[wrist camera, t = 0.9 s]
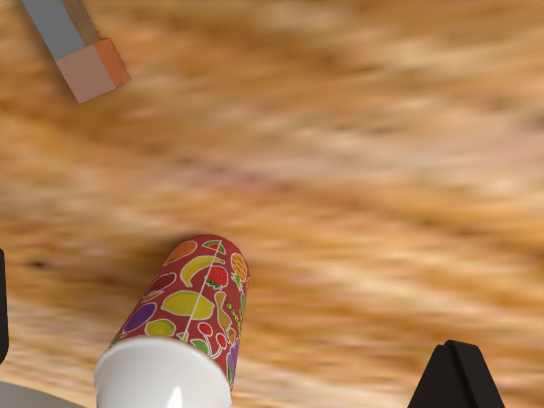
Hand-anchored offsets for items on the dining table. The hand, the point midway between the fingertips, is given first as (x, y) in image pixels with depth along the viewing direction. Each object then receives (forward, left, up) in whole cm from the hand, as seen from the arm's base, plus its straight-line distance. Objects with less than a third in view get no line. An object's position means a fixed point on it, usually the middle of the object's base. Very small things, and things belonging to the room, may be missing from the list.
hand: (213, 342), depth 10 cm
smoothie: (+17, -3, -26) cm, 31 cm away
